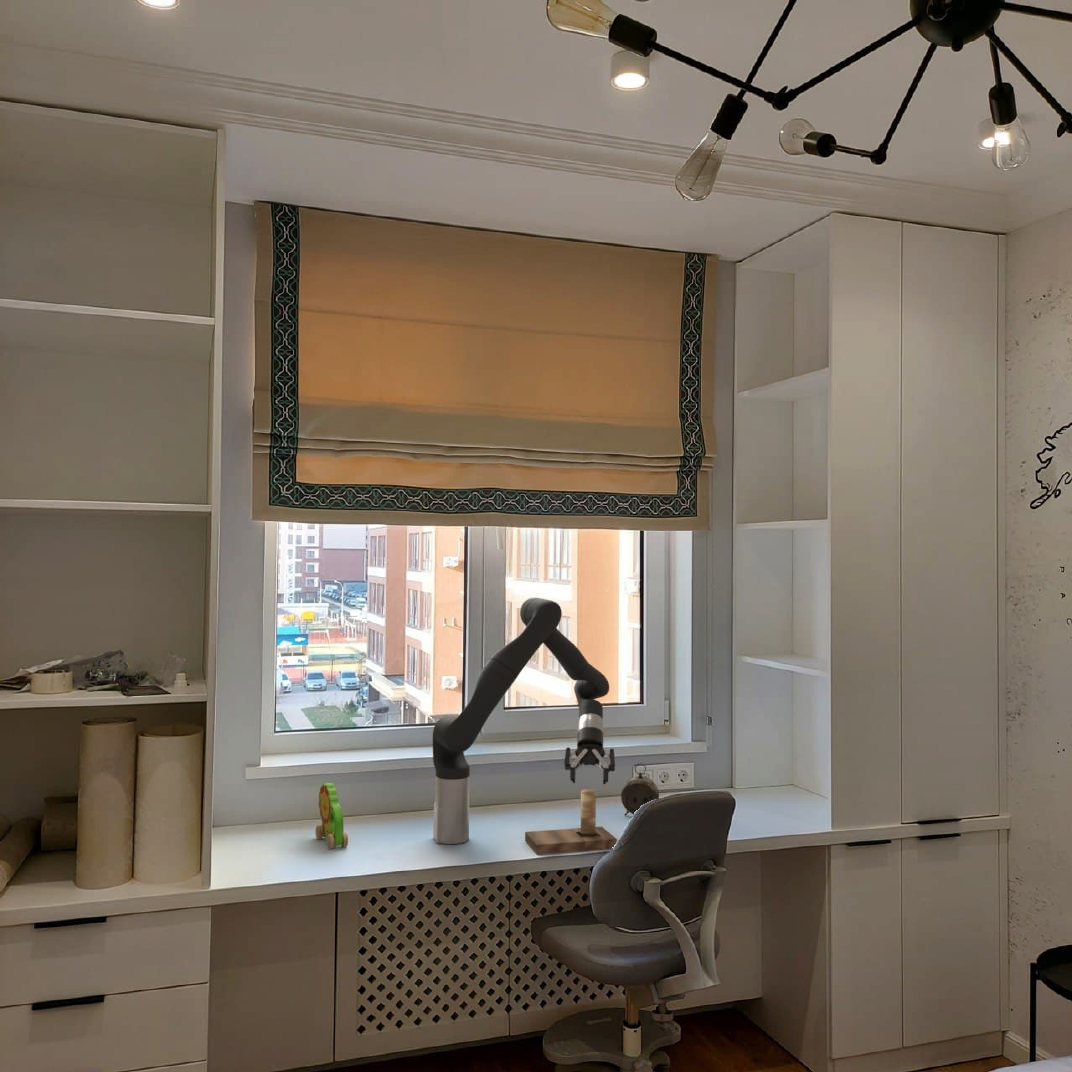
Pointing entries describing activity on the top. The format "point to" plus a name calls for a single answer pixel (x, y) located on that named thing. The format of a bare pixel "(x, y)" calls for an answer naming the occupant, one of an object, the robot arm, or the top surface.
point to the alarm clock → (638, 792)
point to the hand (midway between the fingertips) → (589, 782)
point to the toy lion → (331, 818)
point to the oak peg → (588, 813)
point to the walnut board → (568, 841)
